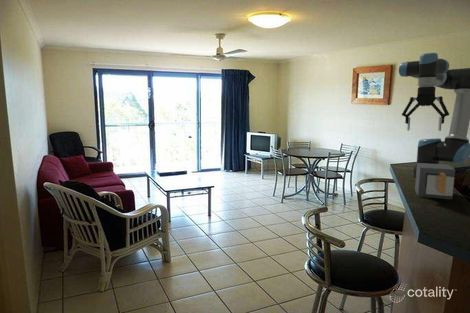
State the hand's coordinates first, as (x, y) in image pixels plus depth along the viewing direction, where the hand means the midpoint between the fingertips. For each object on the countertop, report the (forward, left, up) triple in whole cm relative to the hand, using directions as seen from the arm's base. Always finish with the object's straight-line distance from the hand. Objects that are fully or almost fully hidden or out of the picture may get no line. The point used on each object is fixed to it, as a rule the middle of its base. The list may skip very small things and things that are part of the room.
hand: (423, 130), depth 166 cm
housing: (0, +7, -31) cm, 32 cm away
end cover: (+9, +17, -27) cm, 33 cm away
